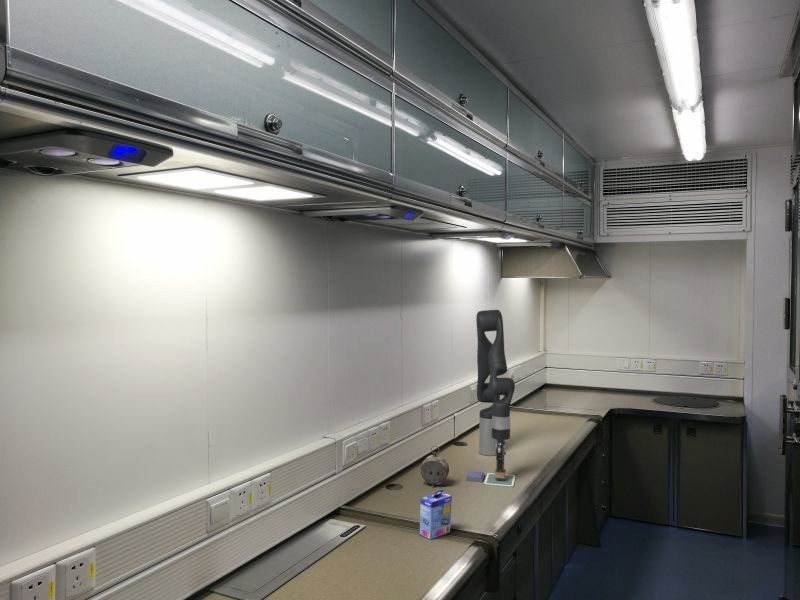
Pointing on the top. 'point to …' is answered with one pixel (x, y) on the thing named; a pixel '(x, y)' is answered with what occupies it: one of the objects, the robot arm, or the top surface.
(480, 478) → the ink pad
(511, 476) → the green white framed board
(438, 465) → the alarm clock
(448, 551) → the top surface
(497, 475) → the stamp
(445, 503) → the ink cartridge box
